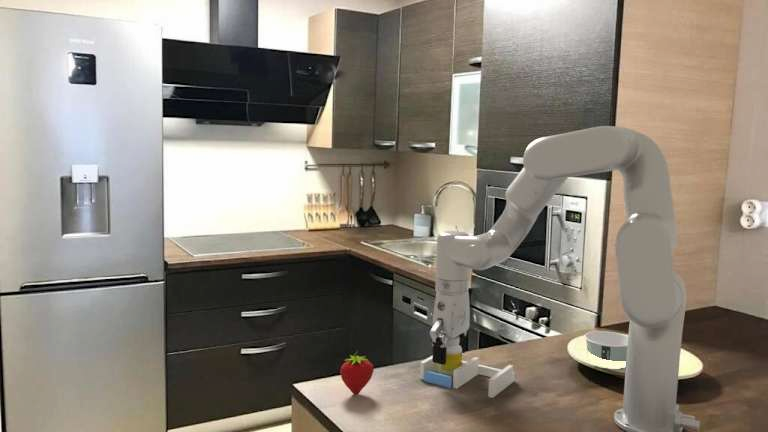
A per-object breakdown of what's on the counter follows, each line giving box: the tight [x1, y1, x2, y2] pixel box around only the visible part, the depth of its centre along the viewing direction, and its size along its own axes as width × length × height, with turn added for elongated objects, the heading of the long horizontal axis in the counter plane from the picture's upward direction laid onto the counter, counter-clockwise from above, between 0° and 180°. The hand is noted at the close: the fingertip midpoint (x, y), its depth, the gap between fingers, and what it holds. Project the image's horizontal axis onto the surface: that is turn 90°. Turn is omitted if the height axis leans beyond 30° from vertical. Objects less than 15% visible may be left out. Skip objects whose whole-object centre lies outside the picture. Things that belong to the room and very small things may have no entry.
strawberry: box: [339, 350, 375, 395], centre depth 139 cm, size 6×8×10 cm
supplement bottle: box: [437, 336, 463, 382], centre depth 150 cm, size 5×5×10 cm
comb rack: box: [419, 354, 516, 399], centre depth 148 cm, size 18×13×4 cm
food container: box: [583, 330, 628, 361], centre depth 162 cm, size 12×12×6 cm
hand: (449, 357), depth 150 cm, fingers open, 9 cm apart
